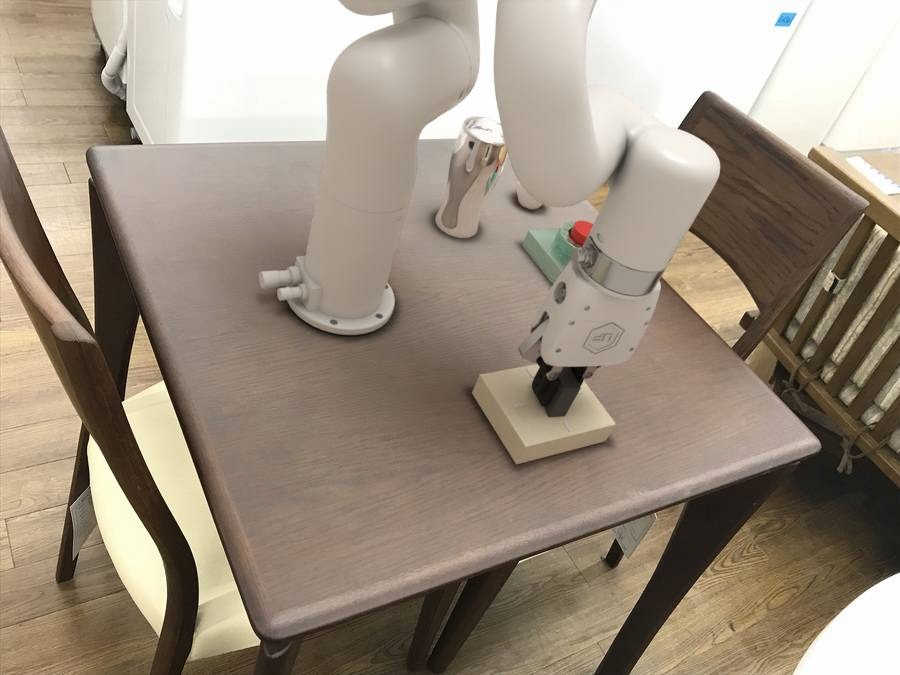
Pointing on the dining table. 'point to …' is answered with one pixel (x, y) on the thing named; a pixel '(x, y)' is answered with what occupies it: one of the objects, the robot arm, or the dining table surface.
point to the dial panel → (538, 416)
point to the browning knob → (563, 394)
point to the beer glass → (472, 175)
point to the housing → (551, 249)
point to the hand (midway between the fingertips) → (550, 394)
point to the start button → (580, 231)
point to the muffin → (526, 198)
